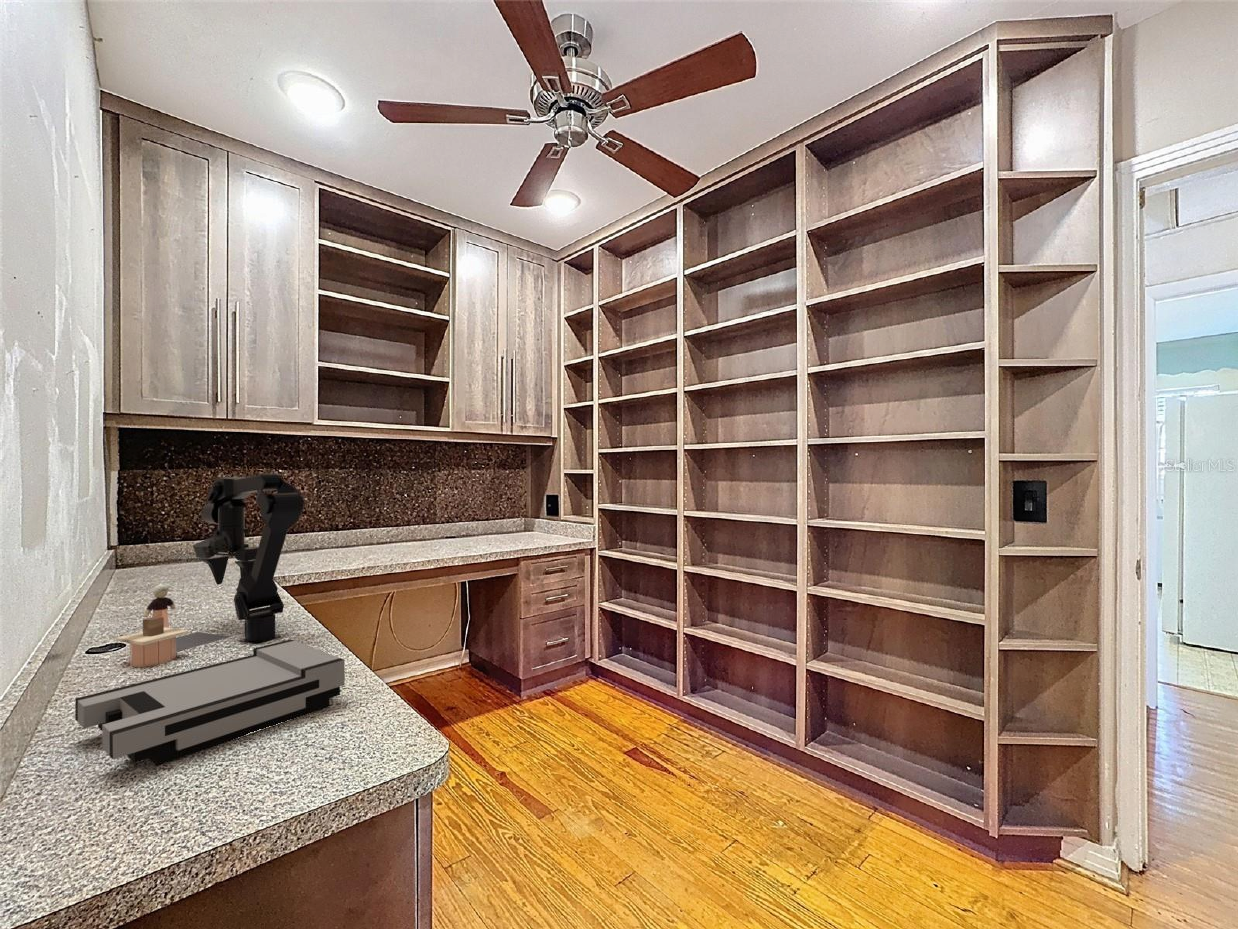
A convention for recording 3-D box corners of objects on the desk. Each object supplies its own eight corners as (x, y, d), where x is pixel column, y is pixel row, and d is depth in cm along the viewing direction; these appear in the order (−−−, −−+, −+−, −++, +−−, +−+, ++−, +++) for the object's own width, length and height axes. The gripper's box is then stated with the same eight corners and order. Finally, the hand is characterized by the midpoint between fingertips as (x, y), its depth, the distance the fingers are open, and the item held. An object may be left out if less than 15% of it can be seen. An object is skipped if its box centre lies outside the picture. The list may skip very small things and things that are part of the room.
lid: (188, 633, 128) (188, 615, 128) (143, 645, 119) (143, 625, 119) (162, 629, 131) (162, 611, 131) (116, 640, 123) (116, 621, 123)
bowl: (184, 658, 128) (184, 633, 128) (144, 670, 120) (144, 644, 120) (161, 654, 130) (161, 630, 130) (121, 666, 123) (121, 640, 123)
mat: (230, 638, 142) (230, 636, 142) (179, 653, 131) (179, 651, 131) (197, 633, 147) (197, 631, 147) (145, 647, 135) (145, 646, 135)
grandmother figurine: (156, 638, 143) (155, 587, 143) (141, 638, 143) (140, 587, 143) (180, 629, 151) (180, 581, 151) (166, 629, 151) (165, 581, 151)
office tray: (75, 743, 89) (75, 690, 89) (291, 680, 115) (290, 639, 115) (113, 786, 77) (112, 725, 77) (344, 705, 103) (344, 659, 103)
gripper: (173, 527, 144) (174, 589, 144) (226, 529, 137) (226, 594, 137) (218, 523, 154) (218, 581, 154) (268, 525, 148) (269, 585, 148)
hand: (231, 585), depth 148 cm, fingers open, 9 cm apart
